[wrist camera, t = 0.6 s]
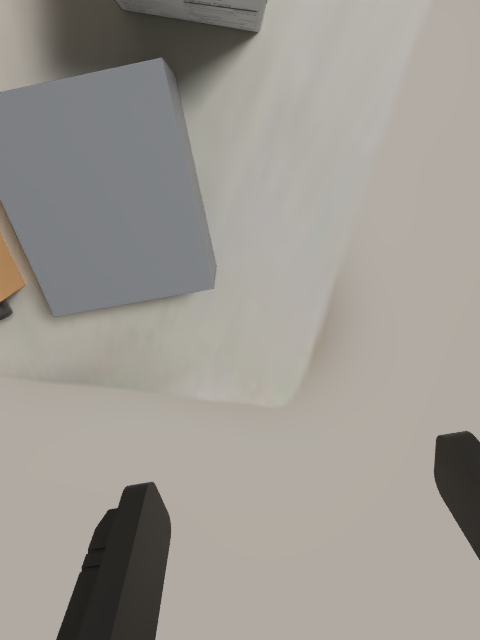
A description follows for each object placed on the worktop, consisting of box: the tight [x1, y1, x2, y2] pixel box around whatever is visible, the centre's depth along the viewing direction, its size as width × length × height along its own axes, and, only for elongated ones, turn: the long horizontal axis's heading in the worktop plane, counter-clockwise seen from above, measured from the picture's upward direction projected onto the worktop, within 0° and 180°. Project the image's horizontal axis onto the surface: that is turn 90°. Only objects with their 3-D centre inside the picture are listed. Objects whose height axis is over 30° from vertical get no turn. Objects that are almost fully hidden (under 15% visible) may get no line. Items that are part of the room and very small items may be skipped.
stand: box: [0, 57, 216, 317], centre depth 29 cm, size 16×14×6 cm
